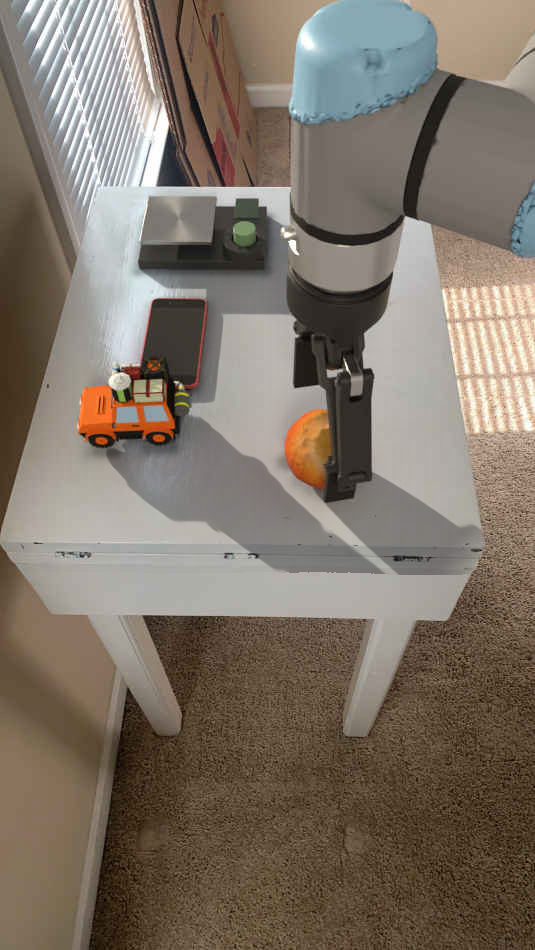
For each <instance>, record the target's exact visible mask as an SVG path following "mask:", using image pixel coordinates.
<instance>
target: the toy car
mask: <svg viewBox="0 0 535 950" xmlns="http://www.w3.org/2000/svg"><path fill="white" fill-rule="evenodd" d="M109 374H110V373H109V372H108V373H107V375H109ZM109 377H110V378H109V380H108V381H107V380H105V382H106V384H107V385H104V384H103V385H97V386H88V387H84V388H83V391H82V394H80V399H79V406H80V410H79V411H80V412H79V417H78V418H77V420H78V421H77V425H76V429H77V434H78V435H79V436H81V437H82V438H84V443H87V442H88V443H89V445H91V446H92V447H95V448H97V449H98V448H100V449H108V448H110V447H113V445H115V442H117V443H119V442H120V441H122V440H123V441H125V440H142V441H144V440H146V442H147V443H149V444H150V445H154V446H161V447H162V446H166V445H167V444H170V443H171V442H172V440H173V442H174V443H176V436H177V435H180V434H181V417H187V416H188V415H189V413H190V409H192V405H193V404H192V400H193V399H192V397H191V395H190V393H189V392H188V391H187V390H186V389H184V386H183V385H182V383H181V382H177V381H173V379H172V378H171V376H170V374H169V369H168V363H167V362H166V359H165V357H164V356H163V357H161V356H158V355H155V356H150V357H147V358H146V357H144V358H143V361H142V363H141V364H140V363H137V364H136V363H134V364H133V363H130V364H119V363H118V362H117V361H116V362H115V361H114V362H113V364H112V372H111V376H109ZM175 386H177V387H178V388H179V389H175Z"/></svg>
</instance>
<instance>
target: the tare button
mask: <svg viewBox="0 0 535 950" xmlns="http://www.w3.org/2000/svg"><path fill="white" fill-rule="evenodd" d="M233 235H234V242H235V244H236V245H238V246H246V247H248V246H251V245H253V244H254V243H255V242H256V227H255V225H254V224H253V223H251V222H247V221H242V222H239V223H237V224H235V225H234V227H233Z"/></svg>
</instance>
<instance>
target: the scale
mask: <svg viewBox="0 0 535 950" xmlns="http://www.w3.org/2000/svg"><path fill="white" fill-rule="evenodd" d="M234 215H235V206H234V205H233V206H232V205H231V206H230V205H229V206H228V205H227V206H226V205H221V206H220V205H219V206H218V205H216V213H215V223H214V232H213V242H212V245H140V246H139V247H140V248H139V252H138V257H137V263H138V264H137V265H138V268H139V270H200V271H201V270H207V271H208V270H209V271H210V270H214V271H215V270H218V271H219V270H225V271H226V270H227V271H230V270H233V271H236V270H237V271H245V270H246V271H249V270H250V271H252V270H253V271H265V269H266V254H268V252H269V235H268V232H267V227H268V226H267V225H268V207H267V206H265V205H264V206H262V205H261V206H260V205H259V206H258V220H235V219H234ZM242 221H247V222H251V223H253V224H254V225H255V227H256V242H255V243H254V244H253V245H251V246H248V247H246V246H238V245H236V244H235V242H234V235H233V227H234V225H235V224H237V223H239V222H242Z"/></svg>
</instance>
